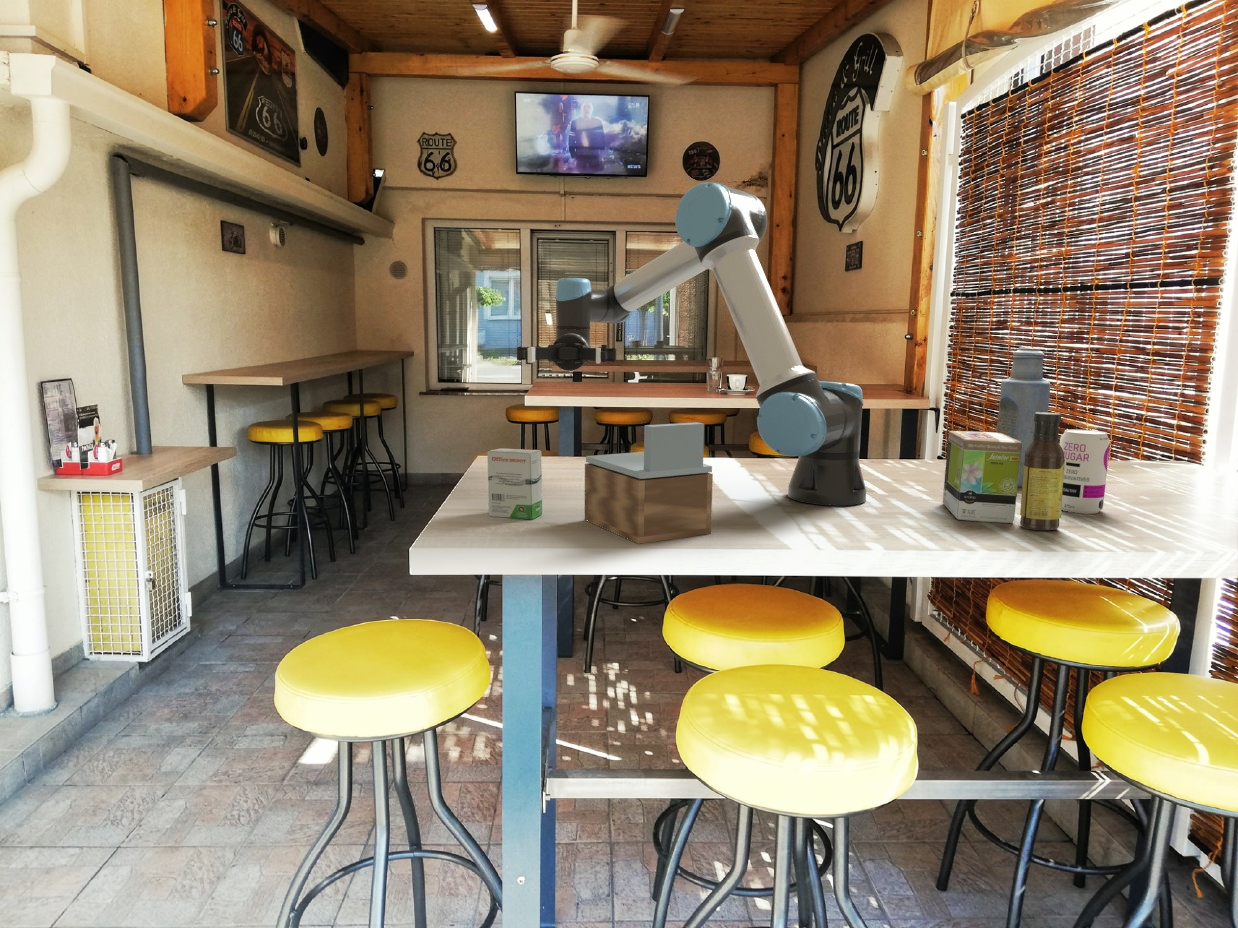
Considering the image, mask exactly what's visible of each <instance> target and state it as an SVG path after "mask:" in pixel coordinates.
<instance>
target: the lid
mask: <svg viewBox="0 0 1238 928" xmlns="http://www.w3.org/2000/svg"><path fill="white" fill-rule="evenodd" d="M643 428H644V431H643V432H644V433H643V434H644V435H643V436H644V437H643V440H644V442H643V451H637V452H625V453H624V452H623V453H610V454H597V455H585V462H586V463H591V464H594V465H597V466H601V467H604V468H607V469H610V470H613V471H617V472H620V473H623V474H626V475H629V476H633V477H636V478H639V479H645V478H656V477H666V476H677V475H687V474H698V473H712V472H713V466H712V465H708V464H705V463H704V449H705V448H704V447H705V446H704V445H705V423H702V422H698V421H697V422H696V421H695V422H682V423H681V422H680V423H664V424H662V423H661V424H647V425H644V427H643Z"/></svg>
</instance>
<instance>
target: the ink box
mask: <svg viewBox="0 0 1238 928" xmlns="http://www.w3.org/2000/svg"><path fill="white" fill-rule="evenodd" d="M486 452H487V454H486V455H487V477H488V478H487V485H488V486H487V487H488V488H487V490H488V494H487V495H488V516H489V517H495V518H496V517H497V518H508V519H509V518H510V519H521V520H534V519H535V518H537V517H539V516H542V514H543V494H542V493H543V486H542V485H543V481H542V480H543V479H542V478H543V477H542V476H543V475H542V473H543V471H542V469H543V468H542V451H541V450H540V449H539V450H537V449H524V448H522V449H518V448H517V449H516V448H502V447H501V448H496V449H490V450H489V451H486Z"/></svg>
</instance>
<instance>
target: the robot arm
mask: <svg viewBox="0 0 1238 928" xmlns="http://www.w3.org/2000/svg"><path fill="white" fill-rule="evenodd" d="M674 219H675V220H674V223H675V228H676V232H677V234H678V236H679V238H680V239H681V240H682V241H681V242H680V243H679V244H677V245H675V246H673V247H672V248H670V249H669V250H667V251H665V252H664V253H662V254H660V255H658V256H657V257H656V258H654V259H652V260H650V261H649V262H647V263H646V264H644V265H642V266H641V267H639V268H638V269H635V270H634V271H632V272H631V273H629V274H628V275H626V276H624V277H622V278H621V279H619V280H618V281H616V282H614V283H613V284H611V285H610V286H608V287H606V288H603V289H601V288H592V286H591V281H590V280H589V279H588V278H585V277H584V278H583V277H582V278H581V277H563V278H559V279H558V280H557V282H556V290H555V297H554V298H555V323H556V324H555V328H556V329H555V340H554V342H553V343H552V344H548V345H547V346H540V345H536V346H535V345H534V346H516V360H517V361H520V362H521V361H525V364H526V365H532V363H535V362H536V361H544V360H546V361H548V362H549V363H554V364H555V365H556V366H557V367H558V368H559V369H561V370H563V371H568V372H569V373H573V372H574V371H576V370H579V369H581V368H582V367H583V366H584V365H585V364H586V363H587V362H589V361H593V362H595V364H596V365H597V364H601V362H602V363H605V362H611V363H615V362H617V348H615V347H611V348H610V347H608V344H601V345H600V346H598V347H592V345H591V323H603V324H604V323H607V324H619V323H625V322H627V321H628V320H629V319H631V317H632V315H633V314H634V311H636V310H638V309H639V308H641V307H642V306H645V305H646V304H648V303H649V302H652V301H653V300H655V299H657V298H658V297H660V296H662V295H663V294H666V293H667V292H669V291H671V290H673V289H675V288H677V287H678V286H679V285H681V284H683V283H685V282H687V281H688V280H690V279H692V278H694V277H695V276H697V275H699V274H701V273H703V272H705V271H706V270H710V271H712V272H713V275H714V277H715V279H716V282H717V285H718V287H719V289H720V292H721V294H722V296H723V298H724V301H725V303H726V306H727V309H728V311H729V313H730V316H731V318H732V321H733V323H734V326H735V328H736V330H737V332H738V336H739V338H740V341H741V342H742V345H743V347H744V350H745V353H746V354H747V357H748V359H749V363H750V364H751V367H752V369H753V372H754V374H755V377H756V379H757V382H758V385H759V387H758V390H757V392H756V394H755V398H756V402H757V404H758V406H759V410H758V416H757V417H756V421H757V422H756V425H757V430H758V434H759V436H760V437H761V438H760V439H762V441H763V442H764V444H765V445H766V446H767V447H768V448H769V449H771V450H772V451H774V452H775V453H778V454H779V455H783V456H788V457H798V458H797V459H798V460H797V462H796V465H795V467H794V470H793V472H792V475H791V478H790V480H789V482H788V487H787V488H788V489H787V496H788V498H790V499H792V500H794V501H797V502H801V503H805V504H813V505H821V506H853V505H854V506H855V505H859V504H863V503H865V502H867V501H866V500H867V488H866V487H867V486H866V484H865V481H864V476H863V473H862V468H861V466H860V449H861V432H862V419H863V418H862V417H863V406H864V400H863V390H862V388H861V387H860V385H857V384H854V383H844V382H835V381H824V380H823V381H822V380H821V381H820V380H819V378H818V376H817V374H816V372H815V371H814V370H811V369H809V368H807V367H805V366H804V365H803V362H802V361H801V358H800V355H799V352H798V351H797V348H796V345H795V343H794V341H793V339H792V336H791V334H790V332H789V329H788V327H787V324H786V322H785V320H784V317H783V314H782V312H781V310H780V308H779V306H778V303H777V300H776V297H775V295H774V294H773V291H772V288H771V286H770V283H769V281H768V278H767V276H766V274H765V272H764V269H763V266H762V265H761V263H760V260H759V258H758V255H757V253H756V250H757V248H758V246H759V243H760V242H761V241H762V240H763V238H764V236H765V234H766V231H767V229H768V214H767V209H766V208H765V205H764V203H763V202H762V201H761V199H759V197H757V196H756V195H755V194H753V193H751V192H749V191H746V190H740V189H738V188H734V187H731V186H727V185H724V184H722V183H721V182H701V183H697V184H696V185H693V186H692V187H690V188H689V189H688V190H687V191H686V192H685V193H684V194H683V196H682V197H681V199H680V201H679V203H678V207H677V209H676V211H675V217H674Z"/></svg>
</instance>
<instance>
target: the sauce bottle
mask: <svg viewBox="0 0 1238 928" xmlns="http://www.w3.org/2000/svg"><path fill="white" fill-rule="evenodd" d="M1034 422H1035V431H1034V435H1033V436H1034V440H1033V442H1032V443H1031V444H1030V445H1029V447H1028V448H1027V450H1026V452H1025V464H1024V468H1023V482H1022V487H1021V495H1020V496H1021V497H1020V511H1019V515H1020V521H1019V524H1020V527H1022V528H1023V529H1026V530H1031V531H1054V530H1058V529H1059V527H1060V519H1061V518H1062V510H1061V506H1062V492H1063V480H1064V466H1065V459H1064V458H1065V456H1064V452H1063V450H1062V448H1061V446H1060V442H1059V439H1060V435H1059V433H1060V424H1061V422H1062V413H1058V412H1048V413H1044V412H1036V413H1035V415H1034Z"/></svg>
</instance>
